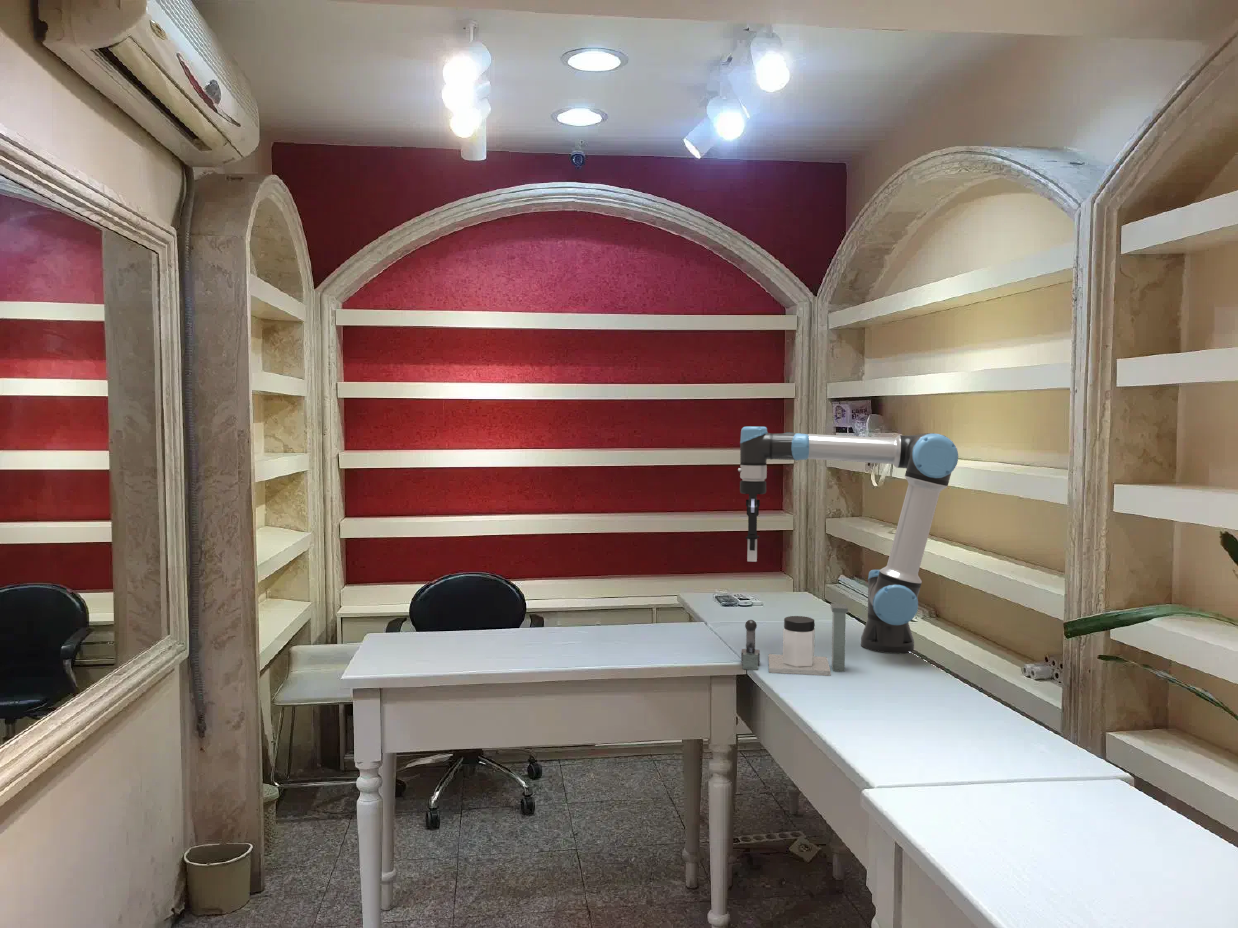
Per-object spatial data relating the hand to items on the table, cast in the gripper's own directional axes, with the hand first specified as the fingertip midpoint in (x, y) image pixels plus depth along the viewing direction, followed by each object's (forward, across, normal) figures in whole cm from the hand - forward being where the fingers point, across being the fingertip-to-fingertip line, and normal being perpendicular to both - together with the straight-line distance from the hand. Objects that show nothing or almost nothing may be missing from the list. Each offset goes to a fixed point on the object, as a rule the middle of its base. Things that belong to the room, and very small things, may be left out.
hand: (752, 561), depth 254 cm
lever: (+25, +13, 0) cm, 29 cm away
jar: (+25, +14, +13) cm, 32 cm away
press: (+26, +13, +12) cm, 31 cm away
